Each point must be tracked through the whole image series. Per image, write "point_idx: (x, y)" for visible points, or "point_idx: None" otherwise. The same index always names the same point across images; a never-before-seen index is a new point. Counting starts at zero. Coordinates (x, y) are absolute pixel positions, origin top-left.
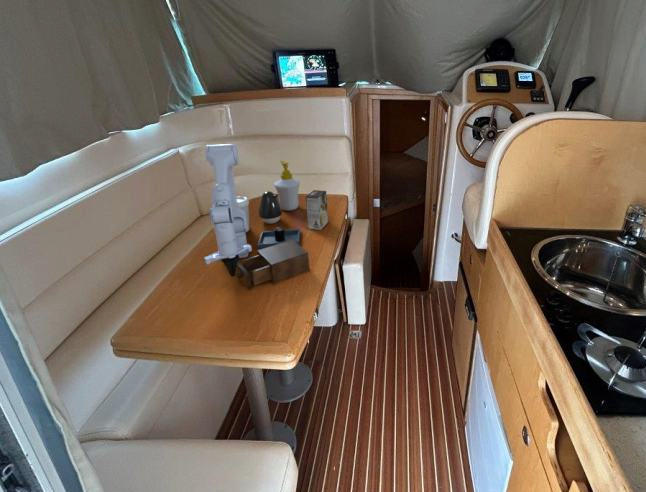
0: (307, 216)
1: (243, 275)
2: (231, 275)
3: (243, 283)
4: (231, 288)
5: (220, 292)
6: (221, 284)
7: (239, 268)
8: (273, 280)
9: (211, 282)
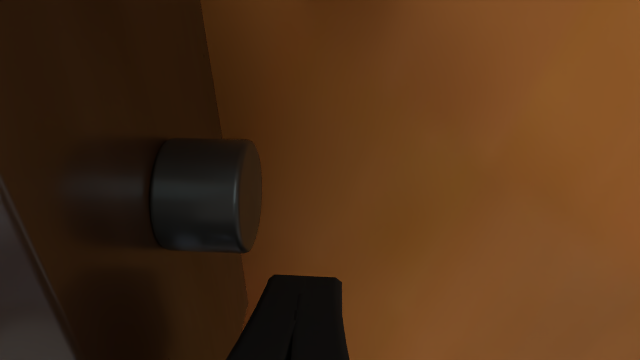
0: None
1: (59, 30)
2: (336, 297)
3: (196, 18)
4: (410, 82)
5: (601, 85)
6: (476, 256)
7: (107, 355)
8: None
9: (545, 351)
